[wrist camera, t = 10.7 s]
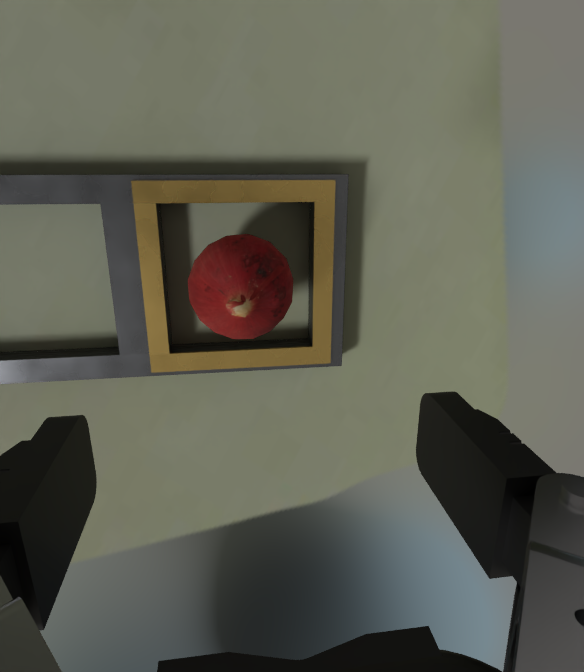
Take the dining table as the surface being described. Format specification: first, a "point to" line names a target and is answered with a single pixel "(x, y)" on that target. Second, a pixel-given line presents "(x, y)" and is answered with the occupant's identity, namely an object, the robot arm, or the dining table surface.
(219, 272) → the onion
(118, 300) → the grey yellow flat frame
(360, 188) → the dining table surface
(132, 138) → the dining table surface
